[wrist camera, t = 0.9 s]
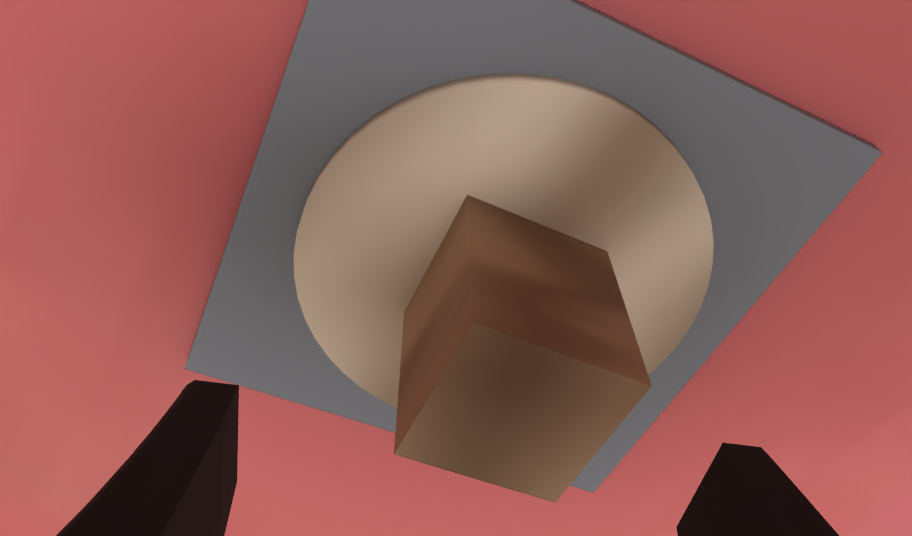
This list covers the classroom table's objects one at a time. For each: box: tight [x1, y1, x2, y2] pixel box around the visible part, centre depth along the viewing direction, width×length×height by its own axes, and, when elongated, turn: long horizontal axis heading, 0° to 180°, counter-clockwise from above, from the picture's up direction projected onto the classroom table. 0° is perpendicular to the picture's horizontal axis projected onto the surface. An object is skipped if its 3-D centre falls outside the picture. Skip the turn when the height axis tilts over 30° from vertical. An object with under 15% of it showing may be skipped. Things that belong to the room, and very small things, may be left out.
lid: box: [294, 73, 714, 502], centre depth 18 cm, size 11×11×6 cm
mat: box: [185, 0, 883, 492], centre depth 20 cm, size 14×14×1 cm
